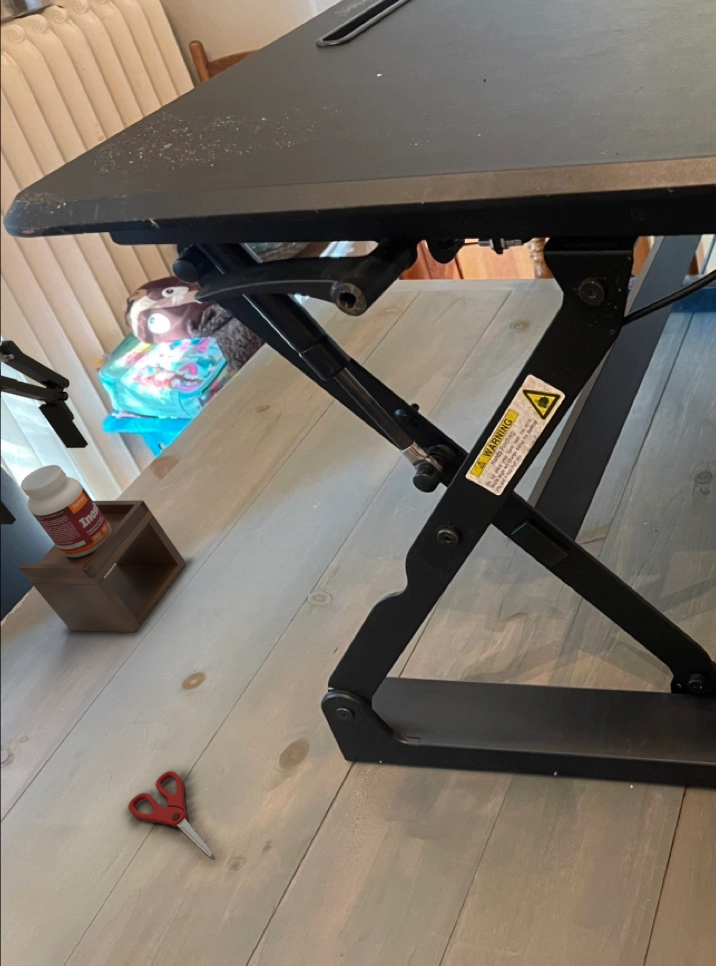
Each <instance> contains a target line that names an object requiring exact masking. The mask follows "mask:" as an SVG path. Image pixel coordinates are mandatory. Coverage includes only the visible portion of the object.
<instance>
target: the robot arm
mask: <svg viewBox="0 0 716 966" xmlns="http://www.w3.org/2000/svg"><path fill="white" fill-rule="evenodd" d="M0 363H3V364H5V365H6V366H7V367H10V368H12V369H13V370H15V371H17V372H19V373H20V374H22V375H24V376H25V377H27V378H29V379H31V380H33V381H34V382H36V383H38V384H40V385H42V386H40V385H37V384H32V383H29V382H24V381H22V380H18V379H17V378H14V377H9V376H6V375H2V372H1V370H0V398H2V395H1V394H2V393H6V394H9V395H13V396H18V397H22V398H26V399H30V400H33V401H39V402H41V404H40V405H39V406H38V410H39V412H41V414H42V415H43V417H44V418H45V419H46V421H47V422H48V424H49V425H50V427H51V429H53V431H54V432H55V434H56V435H57V437H58V439H60V441H61V442H62V444H63V445H64V446H65V448H66V449H86V447H87V446H88V445H89V442H88V441H87V440H86V438H85V437H84V436H83V434H82V433H81V431H80V429H79V428H78V427H77V425H76V424H75V422H74V420H75V415H74V413H73V412H72V410H71V408H69V406H68V404H67V403H66V402H67V401H68V400H69V398H70V397H69V393H68V392H67V391H65V389H68V388H69V387H70V384H71V382H70V380H69V379H68V378H67V377H65V376H63V375H62V374H60V373H58V372H57V371H56V370H53V369H52V368H50V367H48V366H46V365H45V364H43V363H41V362H40V361H38V360H36V359H34V358H33V357H31V356H29V355H28V354H26V353H24V351H22V350H21V349H20V347H19V346H18V345H17V344H16V343H15V342H14V340H10V339H8V340H0ZM43 402H44V403H43ZM16 521H17V519H16V517H15V516H14V515H13V513H12V512H11V510H9V508H8V507H7V506H6V505H5V503H4V502H3V501H2V500H1V499H0V525H13V524H15V522H16Z"/></svg>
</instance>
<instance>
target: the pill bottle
mask: <svg viewBox="0 0 716 966" xmlns="http://www.w3.org/2000/svg"><path fill="white" fill-rule="evenodd" d="M20 488H21V490H22V491H23V492H24V494H25V495H26V496H27V497H28V499H27V508H28V510H29V512H30V513H31V514H32V516H33V517H34V518H35V519H36V521H37V522H38V524H39V525H40V527H42V529H43V530H44V532H45V533H46V534H47V536H48V537H49V538H50V539H51V541H52V542H53V543H54V545H55V544H56V546H57V547H58V548H59V550H60V551H61V552H62V553H63V554H64V555H65V556H67V557H71V558H77V557H82V556H85V555H88V554H90V553H92V552H94V551H96V550H97V549H98V548H99V547H100V546H101V544H102V543H103V542H104V541H105V540H106V538H107V537H108V536H109V535H110V534H111V532H112V529H111V526H110V524H109V523H108V521H107V520H106V519H105V517H104V516H103V514H102V513H101V512H100V510H99V509H98V507H97V506H96V504H95V503H94V502H93V501H94V500H93V499H92V497H91V496H90V494H89V493H88V492H87V491H86V489H85V488H84V486H83V485H82V484H81V482H80V481H79V480H77V479H76V478H74V477H71V476H67V473H66V472H65V471H64V470H63V469H62V467H61V466H59V465H57V464H49V465H44V466H41V467H39V468H37V469H34V470H33V471H31V472H30V473H29V474H27V475H26V476H25V477H24V478H23V479H22V481H21V483H20Z"/></svg>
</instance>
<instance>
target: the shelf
mask: <svg viewBox="0 0 716 966" xmlns="http://www.w3.org/2000/svg"><path fill="white" fill-rule="evenodd" d="M93 502H94V503H95V504H96V506H97V507H98V509H99V510H100V512H101V513H102V514H103V516H104V517H105V519H106V520H107V521H108V523H109V524H110V526H111V529H112V532H111V534H110V535H109V536H108V537H107V538H106V540H105V541H104V542H103V543H102V544H101V546H100V547H99V548H98V549H97V550H96V551H94V552H92V553H90V554H88V555H85V556H82V557H77V558H71V557H67V556H65V555H64V554H63V553H62V552H61V551H60V550H59V548H58V547H57V546H56V544H55V543H54V545H52V547H51V548H50V549H49V550H48V551H47V552H46V554H45V555H44V556H43V557H42V558H41V559H40V560H39V561H38V563H32V562H31V563H27V562H25V563H22V564H21V565H20V566H19V567H18V569H19V570H20V571H21V573H22V574H23V575H24V576H25V578H26V579H27V580H28V581H29V583H31V585H33V587H34V588H35V589H36V591H37V592H38V593H39V594H40V595H41V597H42V598H43V599H44V600H45V601H46V603H47V604H48V605H49V606H50V608H51V609H52V610H53V611H54V612H55V613H56V615H57V616H58V617H59V618H60V620H61V622H62V623H64V624H65V626H66V627H67V628H68V629H69V631H76V632H79V631H80V632H115V633H116V632H117V633H118V632H119V633H136V632H137V631H138V630H139V628H140V627H141V626H142V624H143V622H144V621H145V620H146V619H147V617H148V616H149V615H150V613H151V612H152V610H153V609H154V608H155V607H156V606H157V604H158V602H159V601H160V600H161V598H162V597H163V596H164V595H165V593H166V592H167V591H168V589H169V588H170V586H171V585H172V584H173V582H174V581H175V580H176V579H177V577H178V576H179V574H180V573H181V572H182V570H183V569H184V567H185V566H186V565H187V562H186V560H185V559H184V557H183V556H182V555H181V553H180V552H179V550H178V548H177V547H176V546H175V545H174V543H173V541H172V540H171V538H170V537H169V536H168V534H167V533H166V531H165V530H164V529H163V527H162V526H161V524H160V523H159V521H158V519H157V518H156V517H155V515H154V514H153V512H152V511H151V509H150V508H149V506H148V505H147V504H146V502H145V501H144V500H143V499H142V500H140V499H139V500H136V499H135V500H93Z"/></svg>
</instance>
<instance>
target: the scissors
mask: <svg viewBox="0 0 716 966" xmlns="http://www.w3.org/2000/svg"><path fill="white" fill-rule="evenodd" d="M170 778H171V779H172V778H173V779H174V781H175V783H176V791H175V792H174V793H170V792H168V790H166V789H165V788H164V787H163V785H164V783H165V782H166V781H167V780H168V779H170ZM184 786H185V785H184V782H183V780H182V778H181V776H179V774H177V772H176V771H172V770H171V771H170V770H169V771H166V772H164V773H162V774H161V775H160V776H159V777H158V778H157V779H156V781H155V789H156V790H157V791H158V792H159V793H160V794H161V795H162V796H163V797H164V798H166V799H167V806H159V804H158V802H157V801H156V800H155V799H154V797H153V796H152V795H151V794H150V793H147V792H141V793H139V794H137V795H135V796H134V797H132V799H130V801H129V803H128V810H129V811H130V813H131V814H132V815H133V817H135V818H136V819H138V820H141V821H146V822H152V823H156V824H157V823H158V824H163V825H167V826H172V827H174V828H178V829H180V830H181V831H182V832H183V833H184V834H185V835H186V836H187V837H188V838H189V839H190V840H191V841H192V842H193V843H194V844H195V845H196V846H197V847H198V848H200V849H201V850H202V852H204V853H205V854H206V855H208V857H210V858H211V857H213V852H212V851H211V849H210V848H209V847H208V845H207V844H206V843H205V841H204V840H203V839H202V838H201V836H200V835H199V834H198V833H197V832H196V830H195V829H194V828H193V826H191V824H190V823H189V822H188V820H187V819H188V814H187V811H186V801H185V787H184ZM145 800H146V801H148V803H149V804H150V806H151V807H152V809H153V811H152V812H151V813H143V812H140V811H138V810H137V808H136V807H137V805H138V804H139V803H140V802H142V801H145Z"/></svg>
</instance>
